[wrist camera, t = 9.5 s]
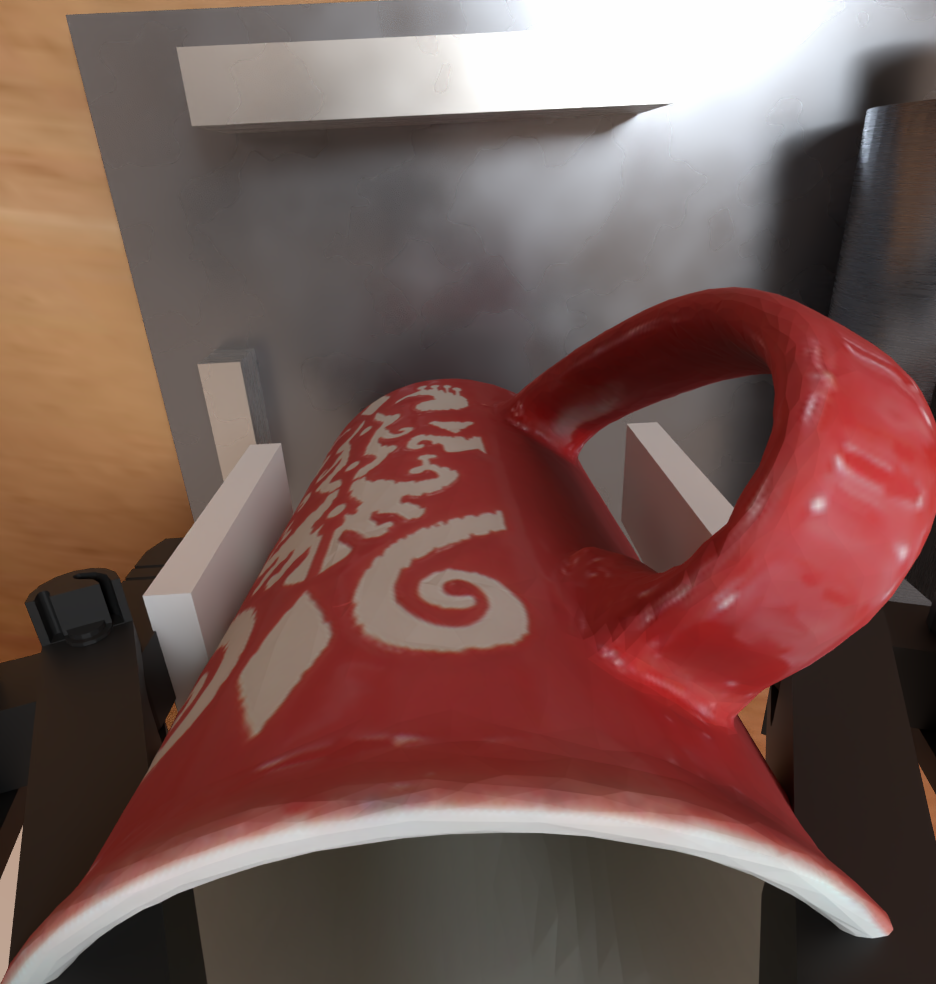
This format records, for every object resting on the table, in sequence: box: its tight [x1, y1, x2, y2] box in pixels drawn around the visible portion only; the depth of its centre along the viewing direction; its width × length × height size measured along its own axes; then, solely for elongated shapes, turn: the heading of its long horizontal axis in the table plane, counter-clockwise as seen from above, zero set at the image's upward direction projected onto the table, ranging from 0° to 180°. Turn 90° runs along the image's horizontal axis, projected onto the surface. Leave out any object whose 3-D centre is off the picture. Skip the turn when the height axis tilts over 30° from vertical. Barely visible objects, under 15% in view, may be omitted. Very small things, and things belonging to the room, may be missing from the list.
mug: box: [1, 287, 936, 984], centre depth 12 cm, size 13×9×14 cm
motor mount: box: [66, 0, 936, 606], centre depth 18 cm, size 26×22×8 cm
